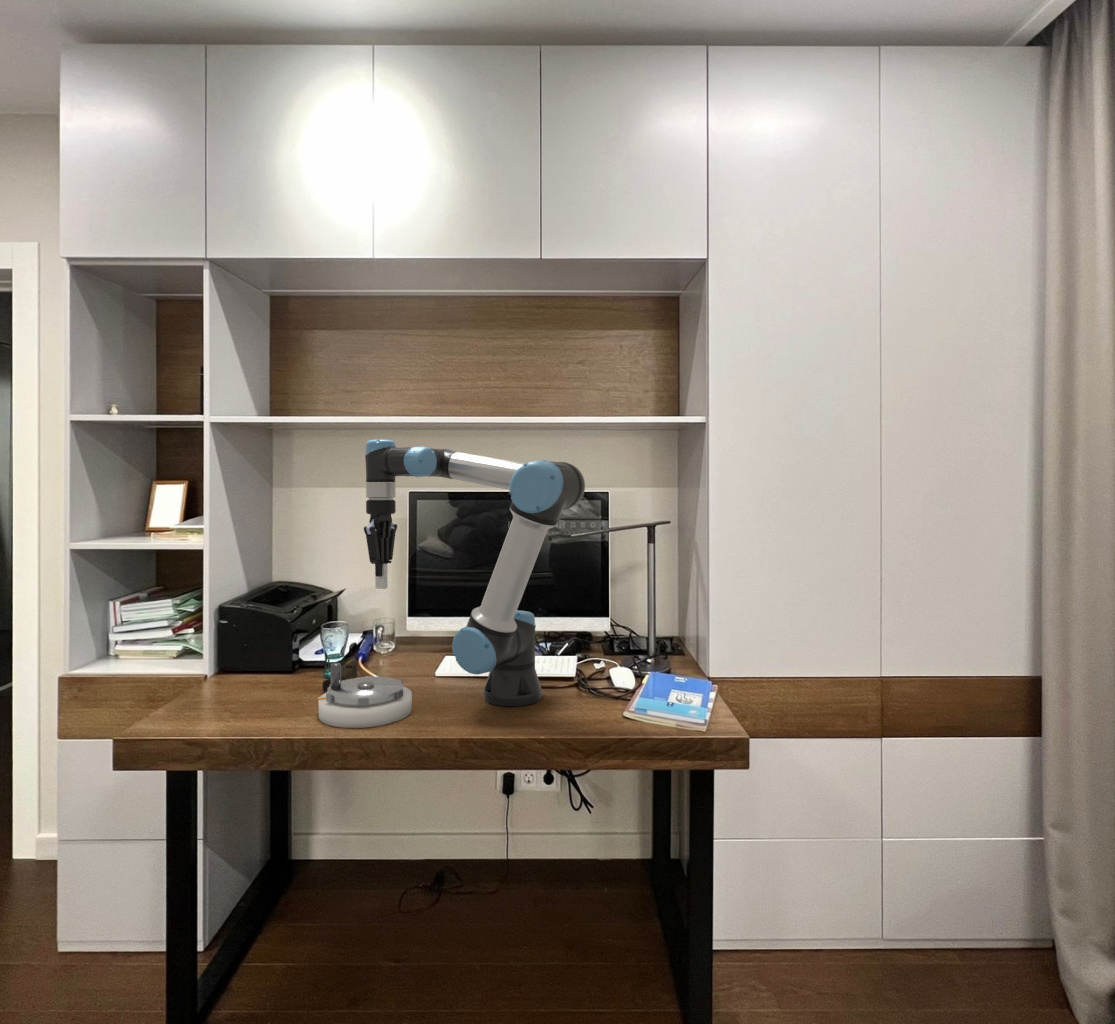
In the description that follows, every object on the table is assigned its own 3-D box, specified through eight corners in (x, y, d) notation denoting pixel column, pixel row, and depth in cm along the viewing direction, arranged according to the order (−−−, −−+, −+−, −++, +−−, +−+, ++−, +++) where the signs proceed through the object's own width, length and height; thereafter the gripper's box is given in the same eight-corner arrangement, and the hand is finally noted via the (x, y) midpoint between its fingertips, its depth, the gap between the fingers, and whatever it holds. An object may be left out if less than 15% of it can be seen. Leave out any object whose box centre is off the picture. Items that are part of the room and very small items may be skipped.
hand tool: (336, 694, 188) (335, 677, 188) (321, 693, 189) (321, 676, 189) (365, 675, 207) (365, 659, 207) (352, 674, 207) (352, 659, 207)
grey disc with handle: (403, 681, 184) (403, 651, 184) (403, 704, 165) (403, 671, 165) (331, 685, 180) (331, 654, 180) (322, 709, 161) (322, 675, 161)
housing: (427, 703, 180) (427, 686, 180) (381, 732, 159) (381, 713, 159) (353, 695, 187) (352, 679, 186) (299, 722, 166) (298, 703, 166)
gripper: (381, 498, 192) (382, 584, 193) (354, 499, 180) (355, 591, 181) (406, 498, 190) (406, 585, 191) (380, 499, 178) (380, 592, 179)
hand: (381, 588), depth 186 cm, fingers closed
